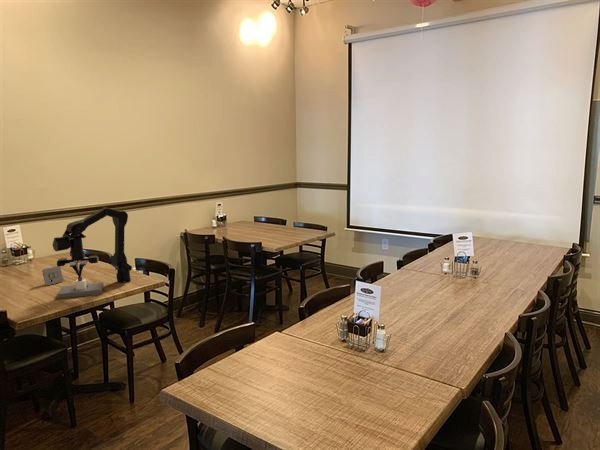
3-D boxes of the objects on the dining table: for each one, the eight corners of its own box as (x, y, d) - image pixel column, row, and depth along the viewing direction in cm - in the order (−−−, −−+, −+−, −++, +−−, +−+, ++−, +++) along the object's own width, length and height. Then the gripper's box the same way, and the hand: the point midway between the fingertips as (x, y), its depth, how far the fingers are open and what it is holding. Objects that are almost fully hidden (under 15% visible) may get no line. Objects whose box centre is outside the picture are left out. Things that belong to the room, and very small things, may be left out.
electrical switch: (46, 286, 246) (43, 269, 245) (42, 285, 249) (39, 268, 248) (64, 281, 253) (61, 265, 252) (60, 281, 256) (57, 265, 255)
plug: (86, 289, 237) (85, 275, 235) (85, 292, 233) (83, 277, 231) (77, 290, 235) (75, 276, 234) (76, 293, 231) (74, 278, 230)
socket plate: (103, 286, 243) (103, 282, 243) (101, 294, 231) (100, 289, 230) (62, 290, 237) (62, 286, 237) (57, 299, 225) (57, 294, 225)
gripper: (98, 242, 240) (101, 270, 243) (59, 245, 234) (62, 274, 237) (95, 247, 229) (98, 276, 232) (54, 250, 224) (58, 280, 227)
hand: (79, 276), depth 233 cm, fingers closed, pressing on plug
